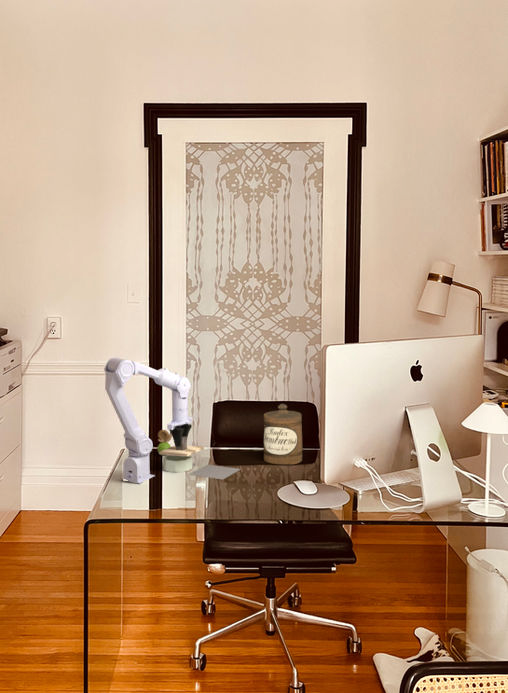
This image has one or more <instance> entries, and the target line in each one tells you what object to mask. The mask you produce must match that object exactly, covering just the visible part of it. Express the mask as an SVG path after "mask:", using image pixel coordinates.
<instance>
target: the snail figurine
mask: <svg viewBox="0 0 508 693" xmlns="http://www.w3.org/2000/svg"><path fill="white" fill-rule="evenodd" d="M157 438H158V439H157V441H158V442H159V444H158V445H157V452H158V454H159V452H161V451H163V450H165V449H168V448H170V447H172V446H171V444H170V443H169V442H170V441H171V440H172V439H173V437H172V434H171V432H170V431H168V430H166V429H161V430H159V431H158V432H157ZM161 456H163V457H165V456H167V455H161Z"/></svg>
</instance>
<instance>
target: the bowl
mask: <svg viewBox="0 0 508 693" xmlns="http://www.w3.org/2000/svg"><path fill="white" fill-rule="evenodd" d="M162 466H163V467H162V468H163V469H164V471H166V472H169V473H182V472H188V471H190V470H191V469H193V456H192V455H190V456H173V455H166V456H163V458H162Z"/></svg>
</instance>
